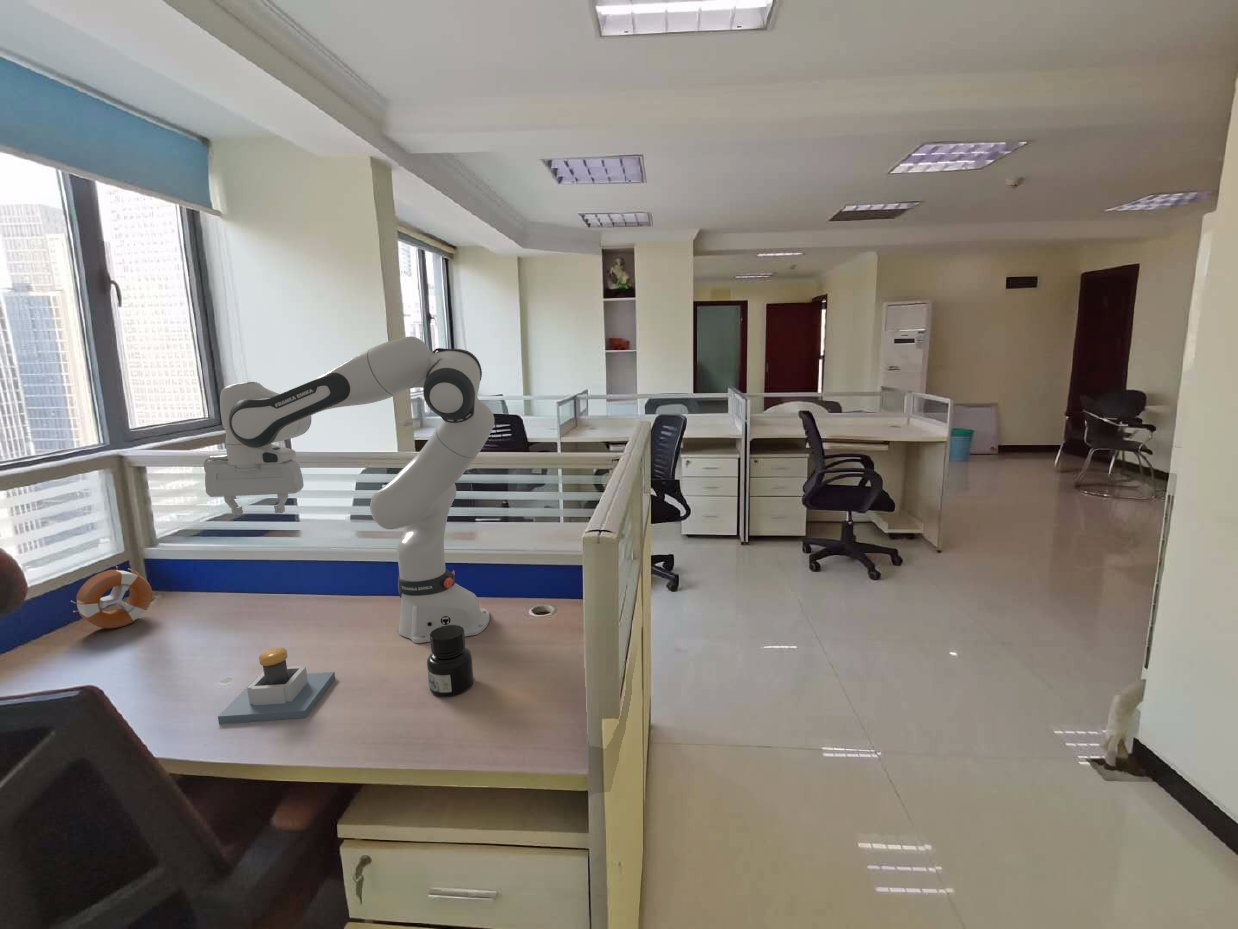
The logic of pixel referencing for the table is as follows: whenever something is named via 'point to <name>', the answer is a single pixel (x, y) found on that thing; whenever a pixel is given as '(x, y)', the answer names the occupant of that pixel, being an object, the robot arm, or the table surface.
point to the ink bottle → (449, 662)
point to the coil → (113, 598)
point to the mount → (278, 697)
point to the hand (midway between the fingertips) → (259, 513)
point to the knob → (274, 666)
